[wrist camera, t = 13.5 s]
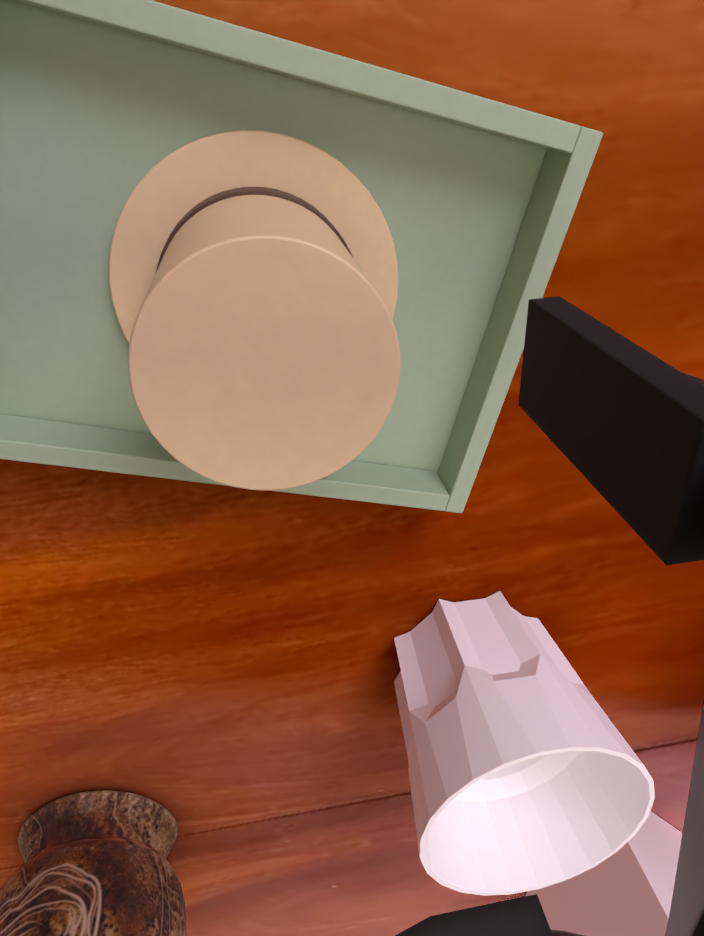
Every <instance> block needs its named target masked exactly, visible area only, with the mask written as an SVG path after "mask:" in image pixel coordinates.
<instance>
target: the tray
mask: <svg viewBox="0 0 704 936" xmlns="http://www.w3.org/2000/svg"><path fill="white" fill-rule="evenodd" d="M242 129H245V130H265V131H271V132H277V133H282V134H286V135H289V136H292V137H295V138H298V139H301V140H304V141H306V142H308V143H310V144H312V145H314V146H316V147H318V148H320V149H322V150H323V151H325V152H326V153H328V154H329V155H331V156H332V157H334V158H335V159H337V160H338V161H340V162H341V163H342V164H343V165H344V166H345V167H346V168H348V169H349V170H350V171H351V172H352V173H353V174H354V175H355V176H356V177H357V178H358V179H359V180H360V182H361V183H362V184H363V185H364V186H365V187H366V189H367V190H368V191H369V192H370V194H371V195H372V197H373V199H374V200H375V202H376V203H377V205H378V206H379V208H380V210H381V212H382V214H383V216H384V218H385V221H386V223H387V225H388V228H389V231H390V234H391V237H392V240H393V243H394V248H395V253H396V259H397V267H398V292H397V301H396V306H395V311H394V316H393V319H392V320H393V323H394V326H395V329H396V332H397V337H398V342H399V347H400V361H401V367H400V380H399V385H398V389H397V394H396V398H395V400H394V403H393V406H392V409H391V411H390V413H389V415H388V417H387V419H386V421H385V423H384V425H383V427H382V428H381V430H380V431H379V433H378V434H377V435H376V437H375V438H374V440H373V441H372V442H371V443H370V444H369V445H368V446H367V448H366V449H365V450H364V451H363V452H362V453H360V454H359V455H358V456H357V457H356V458H355V459H354V460H353V461H351V462H350V463H348V464H347V465H346V466H344V467H343V468H341V469H340V470H338V471H336V472H334V473H332V474H331V475H329V476H327V477H325V478H322V479H320V480H317V481H315V482H312V483H309V484H306V485H302V486H298V487H294V488H288V489H282V490H269V491H277V492H286V493H294V494H303V495H311V496H320V497H329V498H337V499H346V500H354V501H363V502H371V503H380V504H388V505H397V506H405V507H414V508H422V509H431V510H439V511H447V512H456V513H462V512H463V510H464V507H465V505H466V502H467V499H468V496H469V494H470V491H471V488H472V486H473V483H474V480H475V478H476V475H477V472H478V470H479V467H480V464H481V461H482V459H483V456H484V453H485V451H486V448H487V445H488V443H489V440H490V437H491V435H492V432H493V429H494V426H495V424H496V421H497V418H498V416H499V413H500V410H501V408H502V405H503V402H504V400H505V397H506V394H507V391H508V389H509V386H510V383H511V381H512V378H513V375H514V373H515V370H516V367H517V365H518V362H519V359H520V356H521V354H522V351H523V348H524V343H525V333H526V323H527V313H528V302H529V299H538V298H542V297H543V295H544V292H545V289H546V286H547V284H548V281H549V278H550V276H551V273H552V270H553V268H554V265H555V262H556V260H557V257H558V254H559V251H560V249H561V246H562V243H563V241H564V238H565V235H566V233H567V230H568V227H569V225H570V222H571V219H572V216H573V214H574V211H575V208H576V206H577V203H578V200H579V198H580V195H581V192H582V190H583V187H584V184H585V181H586V179H587V176H588V173H589V171H590V168H591V165H592V163H593V160H594V157H595V155H596V152H597V149H598V146H599V144H600V141H601V138H602V136H603V133H602V132H600V131H597V130H593V129H590V128H586V127H583V126H580V125H576V124H573V123H569V122H566V121H562V120H559V119H556V118H552V117H549V116H545V115H542V114H539V113H535V112H532V111H528V110H525V109H521V108H518V107H515V106H511V105H508V104H504V103H501V102H497V101H494V100H491V99H487V98H484V97H480V96H477V95H474V94H470V93H467V92H463V91H460V90H456V89H453V88H450V87H446V86H443V85H439V84H436V83H433V82H429V81H426V80H422V79H419V78H415V77H412V76H409V75H405V74H402V73H398V72H395V71H392V70H388V69H385V68H381V67H378V66H374V65H371V64H368V63H364V62H361V61H357V60H354V59H351V58H347V57H344V56H340V55H337V54H333V53H330V52H327V51H323V50H320V49H316V48H313V47H310V46H306V45H303V44H299V43H296V42H292V41H289V40H286V39H282V38H279V37H275V36H272V35H269V34H265V33H262V32H258V31H255V30H251V29H248V28H245V27H241V26H238V25H234V24H231V23H228V22H224V21H221V20H217V19H214V18H210V17H207V16H204V15H200V14H197V13H193V12H190V11H187V10H183V9H180V8H176V7H173V6H169V5H166V4H163V3H159V2H156V1H152V0H0V459H4V460H13V461H21V462H30V463H38V464H47V465H55V466H64V467H72V468H81V469H89V470H98V471H107V472H115V473H124V474H132V475H141V476H149V477H158V478H166V479H175V480H183V481H192V482H200V483H209V484H218V485H225V484H221V483H218V482H215V481H213V480H210V479H208V478H206V477H203V476H201V475H199V474H198V473H196V472H194V471H192V470H191V469H189V468H187V467H186V466H184V465H183V464H182V463H180V462H179V461H178V460H176V459H175V458H174V457H173V456H172V455H171V454H169V453H168V452H167V451H166V450H165V449H164V448H163V447H162V446H161V445H160V443H159V442H158V441H157V440H156V439H155V437H154V436H153V435H152V434H151V432H150V431H149V429H148V427H147V426H146V424H145V423H144V421H143V419H142V417H141V415H140V413H139V411H138V408H137V406H136V404H135V401H134V397H133V394H132V390H131V387H130V380H129V373H128V351H129V343H128V341H127V339H126V338H125V336H124V333H123V331H122V329H121V327H120V324H119V322H118V320H117V316H116V313H115V309H114V306H113V302H112V297H111V290H110V284H109V257H110V249H111V241H112V238H113V234H114V230H115V227H116V223H117V221H118V218H119V216H120V214H121V211H122V209H123V207H124V205H125V203H126V201H127V200H128V198H129V196H130V195H131V193H132V192H133V190H134V188H135V187H136V185H137V184H138V183H139V182H140V181H141V180H142V178H143V177H144V176H145V175H146V174H147V173H148V171H149V170H151V169H152V168H153V167H154V166H155V165H156V164H157V163H159V162H160V161H161V160H162V159H163V158H164V157H166V156H167V155H169V154H170V153H172V152H173V151H175V150H177V149H178V148H180V147H181V146H183V145H185V144H187V143H190V142H192V141H194V140H197V139H199V138H201V137H204V136H208V135H212V134H215V133H219V132H224V131H233V130H242ZM226 486H228V485H226Z"/></svg>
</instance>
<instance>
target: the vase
mask: <svg viewBox="0 0 704 936" xmlns="http://www.w3.org/2000/svg"><path fill="white" fill-rule="evenodd" d="M177 833H178V828H177V822H176V820H175V818H174V817H173V815H172V814H171V813H170V812H169V811H168V810H167V809H166V808H165V807H164V806H162V805H160V804H159V803H157V802H155V801H153V800H151V799H149V798H146V797H144V796H141V795H138V794H134V793H129V792H123V791H110V790H102V791H86V792H81V793H75V794H72V795H69V796H65V797H62V798H59V799H57V800H55V801H52V802H50V803H49V804H47V805H45V806H44V807H42V808H41V809H39V810H37V811H36V812H35V813H33V814H32V815H31V816H30V817H29V818H28V819H27V820H26V821H25V822H24V824H23V825H22V827H21V830H20V833H19V836H18V839H17V841H18V846H19V850H20V853H21V856H22V858H23V861H24V865H22V866H21V867H20V868H19V869H18V870H17V871H16V872H15V873H14V874H13V875H12V876H11V877H10V878H9V879H8V880H7V881H6V882H5V884H4V885H3V887H2V888H1V890H0V936H186V913H185V903H184V897H183V893H182V888H181V884H180V882H179V880H178V878H177V876H176V874H175V872H174V870H173V868H172V866H171V864H170V863H169V862H168V861H167V860H166V858H167V856H168V855H169V853H170V852H171V850H172V848H173V845H174V843H175V840H176V837H177Z"/></svg>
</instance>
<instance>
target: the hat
mask: <svg viewBox="0 0 704 936" xmlns="http://www.w3.org/2000/svg"><path fill="white" fill-rule="evenodd" d="M109 284H110V290H111V297H112V302H113V306H114V309H115V313H116V316H117V320H118V322H119V324H120V327H121V329H122V331H123V333H124V336H125V338H126V339H127V341H128V343H129V351H128V373H129V380H130V387H131V390H132V394H133V397H134V401H135V404H136V406H137V408H138V411H139V413H140V415H141V417H142V419H143V421H144V423H145V424H146V426H147V427H148V429H149V431H150V432H151V434H152V435H153V436H154V437H155V439H156V440H157V441H158V442H159V443H160V445H161V446H162V447H163V448H164V449H165V450H166V451H167V452H168V453H169V454H171V455H172V456H173V457H174V458H175V459H176V460H178V461H179V462H180V463H182V464H183V465H184V466H186V467H187V468H189V469H191V470H192V471H194V472H196V473H198V474H199V475H201V476H203V477H206V478H208V479H210V480H213V481H215V482H218V483H221V484H225V485H228V486H231V487H237V488H242V489H248V490H264V491H265V490H282V489H288V488H294V487H298V486H302V485H306V484H309V483H312V482H315V481H317V480H320V479H322V478H325V477H327V476H329V475H331V474H332V473H334V472H336V471H338V470H340V469H341V468H343V467H344V466H346V465H347V464H348V463H350V462H351V461H353V460H354V459H355V458H356V457H357V456H358V455H359V454H360V453H362V452H363V451H364V450H365V449H366V448H367V446H368V445H369V444H370V443H371V442H372V441H373V440H374V438H375V437H376V435H377V434H378V433H379V431H380V430H381V428H382V427H383V425H384V423H385V421H386V419H387V417H388V415H389V413H390V411H391V409H392V406H393V403H394V400H395V398H396V394H397V389H398V385H399V380H400V367H401V361H400V347H399V342H398V337H397V332H396V329H395V326H394V323H393V320H392V319H393V316H394V311H395V306H396V301H397V292H398V267H397V259H396V253H395V248H394V243H393V240H392V237H391V234H390V231H389V228H388V225H387V223H386V221H385V218H384V216H383V214H382V212H381V210H380V208H379V206H378V205H377V203H376V202H375V200H374V199H373V197H372V195H371V194H370V192H369V191H368V190H367V189H366V187H365V186H364V185H363V184H362V183H361V182H360V180H359V179H358V178H357V177H356V176H355V175H354V174H353V173H352V172H351V171H350V170H349V169H348V168H346V167H345V166H344V165H343V164H342V163H341V162H340V161H338V160H337V159H335V158H334V157H332V156H331V155H329V154H328V153H326V152H325V151H323V150H322V149H320V148H318V147H316V146H314V145H312V144H310V143H308V142H306V141H304V140H301V139H298V138H295V137H292V136H289V135H286V134H282V133H277V132H271V131H265V130H245V129H242V130H233V131H224V132H219V133H215V134H212V135H208V136H204V137H201V138H199V139H197V140H194V141H192V142H190V143H187V144H185V145H183V146H181V147H180V148H178V149H177V150H175V151H173V152H172V153H170V154H169V155H167V156H166V157H164V158H163V159H162V160H161V161H160V162H159V163H157V164H156V165H155V166H154V167H153V168H152V169H151V170H149V171H148V173H147V174H146V175H145V176H144V177H143V178H142V180H141V181H140V182H139V183H138V184H137V185H136V187H135V188H134V190H133V192H132V193H131V195H130V196H129V198H128V200H127V201H126V203H125V205H124V207H123V209H122V211H121V214H120V216H119V218H118V221H117V223H116V227H115V230H114V234H113V238H112V241H111V249H110V257H109Z"/></svg>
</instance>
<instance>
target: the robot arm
mask: <svg viewBox="0 0 704 936" xmlns="http://www.w3.org/2000/svg"><path fill="white" fill-rule="evenodd" d="M519 406H520V407H521V408H522V409H523V410H524V411H525V412H526V413H527V414H528V415H529V417H530V418H531V419H532V420H533V421H534V422H535V423H536V424H537V425H538V426H539V427H540V429H541V430H542V431H543V432H544V433H545V434H546V435H547V436H548V437H549V438H550V439H551V440H552V442H553V443H554V444H555V445H556V446H557V447H558V448H559V449H560V450H561V451H562V452H563V453H564V455H565V456H566V457H567V458H568V459H569V460H570V461H571V462H572V463H573V464H574V465H575V467H576V468H577V469H578V470H579V471H580V472H581V473H582V474H583V475H584V476H585V477H586V478H587V480H588V481H589V482H590V483H591V484H592V485H593V486H594V487H595V488H596V489H597V490H598V491H599V493H600V494H601V495H602V496H603V497H604V498H605V499H606V500H607V501H608V502H609V503H610V504H611V506H612V507H613V508H614V509H615V510H616V511H617V512H618V513H619V514H620V515H621V516H622V518H623V519H624V520H625V521H626V522H627V523H628V524H629V525H630V526H631V527H632V528H633V529H634V531H635V532H636V533H637V534H638V535H639V536H640V537H641V538H642V539H643V540H644V541H645V542H646V544H647V545H648V546H649V547H650V548H651V549H652V550H653V551H654V552H655V553H656V554H657V556H658V557H659V558H660V559H661V560H662V561H663V562H664V563H665V564H666V565H671V564H678V563H685V562H691V561H698V560H704V381H703V380H702V379H699V378H696V377H693V376H690V375H687V374H684V373H681V372H679V371H678V370H676V369H674V368H673V367H671V366H670V365H668V364H666V363H665V362H663V361H662V360H660V359H659V358H657V357H655V356H654V355H652V354H651V353H649V352H647V351H646V350H644V349H643V348H641V347H639V346H638V345H636V344H635V343H633V342H631V341H630V340H628V339H627V338H625V337H623V336H622V335H620V334H619V333H617V332H615V331H614V330H612V329H611V328H609V327H607V326H606V325H604V324H603V323H601V322H599V321H598V320H596V319H595V318H593V317H591V316H590V315H588V314H587V313H585V312H583V311H582V310H580V309H579V308H577V307H575V306H574V305H572V304H571V303H569V302H567V301H566V300H564V299H563V298H561V297H549V298H538V299H529V302H528V313H527V323H526V333H525V343H524V354H523V364H522V374H521V384H520V395H519ZM396 936H584V935H580V934H576V933H572V932H568V931H561V930H552V929H550V927H549V924H548V922H547V919H546V916H545V914H544V911H543V909H542V906H541V903H540V901H539V898H538V896H537V894H535V895H530V896H525V897H521V898H516V899H511V900H506V901H502V902H497V903H492V904H487V905H482V906H478V907H473V908H468V909H463V910H459V911H454V912H449V913H444V914H440V915H435V916H430V917H428V918H427V919H425V920H423V921H421V922H419V923H418V924H416V925H414V926H412V927H410V928H408V929H407V930H405V931H403V932H401V933H399V934H398V935H396ZM665 936H704V703H703V709H702V715H701V721H700V727H699V734H698V740H697V746H696V752H695V759H694V765H693V771H692V777H691V783H690V790H689V796H688V802H687V808H686V815H685V821H684V827H683V833H682V839H681V846H680V852H679V858H678V864H677V871H676V877H675V883H674V889H673V895H672V902H671V908H670V913H669V919H668V923H667V928H666V932H665Z"/></svg>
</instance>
